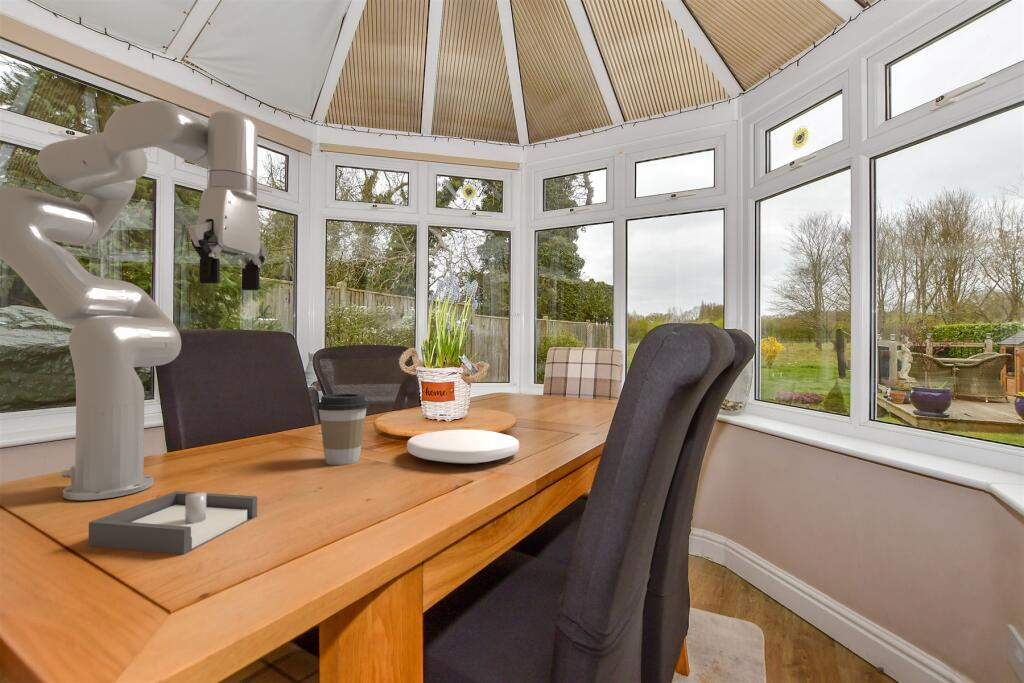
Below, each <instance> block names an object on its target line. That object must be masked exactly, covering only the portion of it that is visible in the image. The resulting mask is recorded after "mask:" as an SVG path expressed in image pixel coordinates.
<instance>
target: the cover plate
mask: <svg viewBox="0 0 1024 683" xmlns="http://www.w3.org/2000/svg"><path fill="white" fill-rule="evenodd" d="M206 493H207V492H204V491H202V492H201V491H200V492H198V491H197V493H191V494H188V495H186V502H185V505H174V506H171V507H168V508H166V509H163V510H161V511H158V512H156V513H153V514H150V515H148V516H145V517H143V518H140V519H138V520H135V521H132V522H135V523H148V524H161V525H174V526H187V527H191V549H192V548H194V547H196V546H198V545H200V544H202V543H204V542H206V541H207V540H209V539H211V538H213V537H215V536H217V535H219V534H221V533H223V532H225V531H227V530H229V529H231V528H233V527H235V526H237V525H238V524H240V523H242V522H244V521H246V520H247V510H243V509H228V508H214V507H206Z"/></svg>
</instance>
